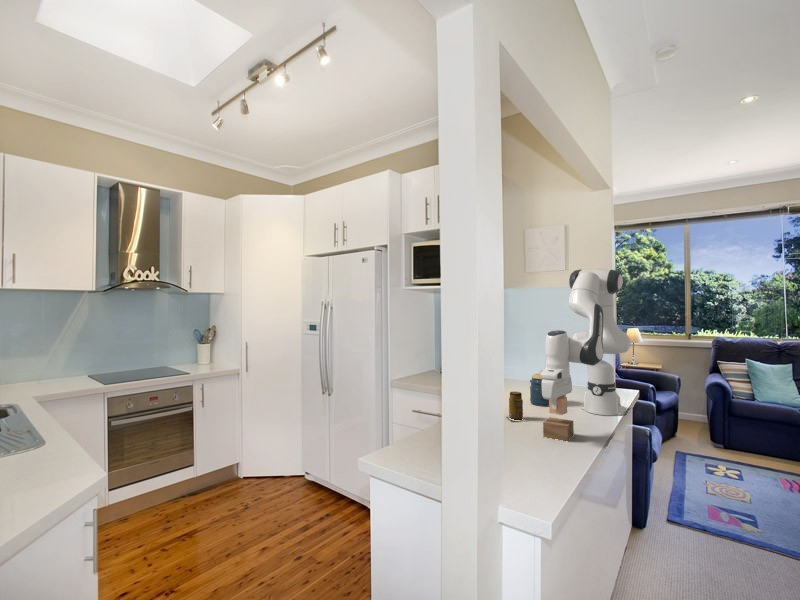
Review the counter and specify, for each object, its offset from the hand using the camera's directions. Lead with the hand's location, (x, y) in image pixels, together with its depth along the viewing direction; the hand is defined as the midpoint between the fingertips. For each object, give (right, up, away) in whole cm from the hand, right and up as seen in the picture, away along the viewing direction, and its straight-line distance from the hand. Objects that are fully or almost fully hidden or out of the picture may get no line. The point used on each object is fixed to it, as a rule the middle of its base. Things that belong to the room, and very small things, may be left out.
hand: (558, 407), depth 153 cm
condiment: (-9, -12, +25) cm, 29 cm away
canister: (+13, -13, +53) cm, 56 cm away
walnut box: (0, -12, 0) cm, 12 cm away
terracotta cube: (0, -2, 0) cm, 2 cm away
